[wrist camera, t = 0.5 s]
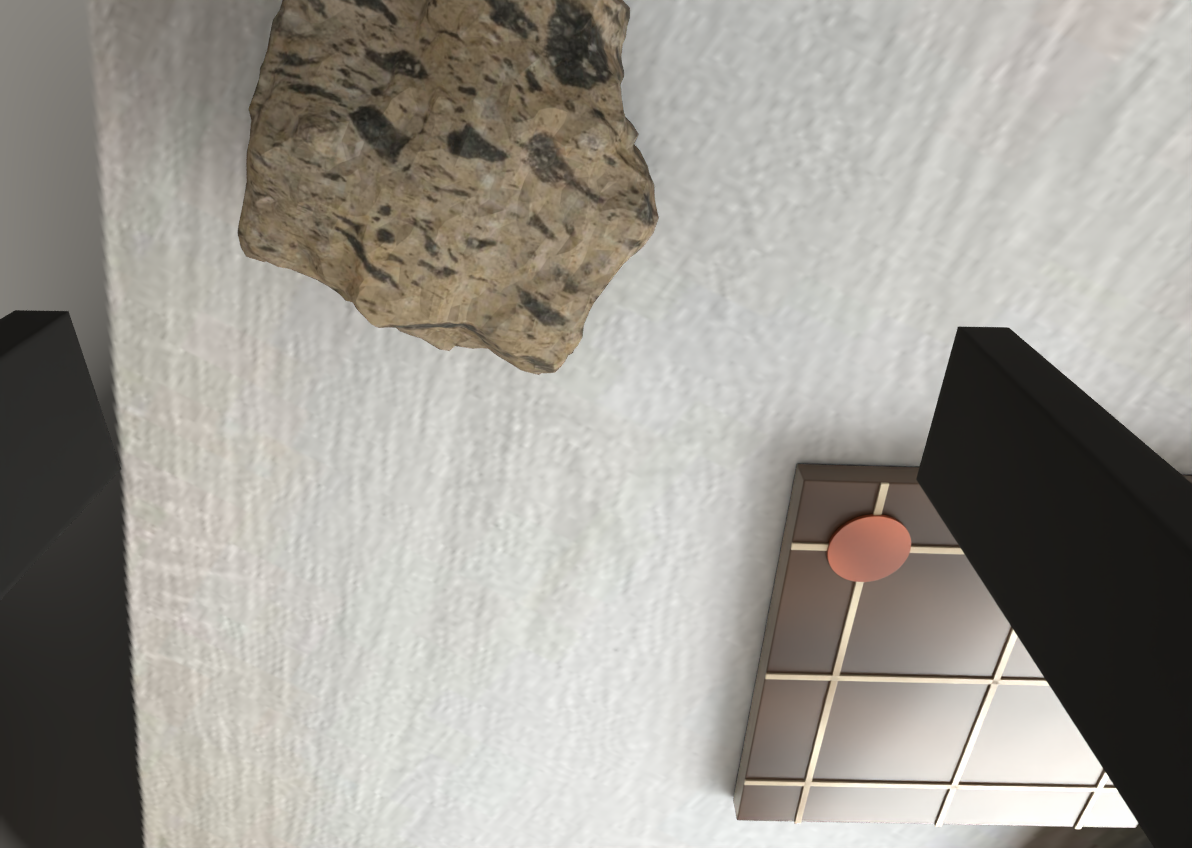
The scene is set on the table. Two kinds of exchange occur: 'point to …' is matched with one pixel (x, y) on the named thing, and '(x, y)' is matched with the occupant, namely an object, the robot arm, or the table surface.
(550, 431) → the table surface
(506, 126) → the rock
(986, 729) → the grid board
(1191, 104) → the table surface
